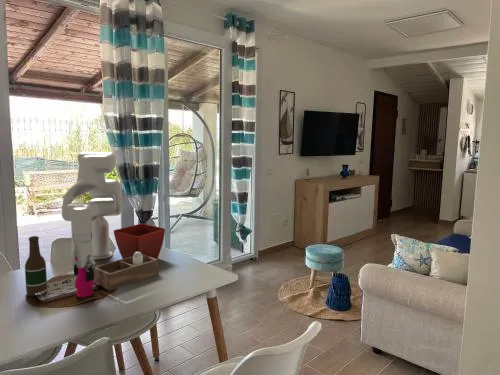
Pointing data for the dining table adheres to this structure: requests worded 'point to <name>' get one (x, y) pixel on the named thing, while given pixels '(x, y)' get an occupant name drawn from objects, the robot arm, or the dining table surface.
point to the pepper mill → (83, 282)
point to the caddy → (124, 272)
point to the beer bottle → (35, 269)
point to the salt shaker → (137, 258)
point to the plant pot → (139, 240)
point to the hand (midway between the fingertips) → (83, 277)
